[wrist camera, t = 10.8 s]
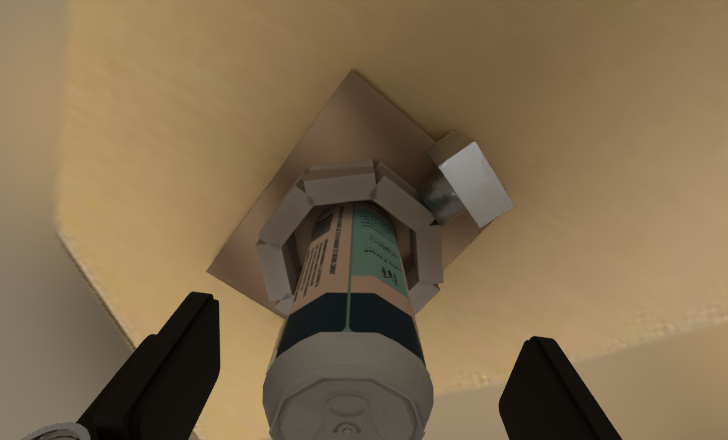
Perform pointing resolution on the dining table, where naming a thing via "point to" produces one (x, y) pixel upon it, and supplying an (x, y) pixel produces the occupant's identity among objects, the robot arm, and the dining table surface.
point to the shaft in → (462, 182)
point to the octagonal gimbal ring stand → (344, 200)
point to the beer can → (350, 339)
